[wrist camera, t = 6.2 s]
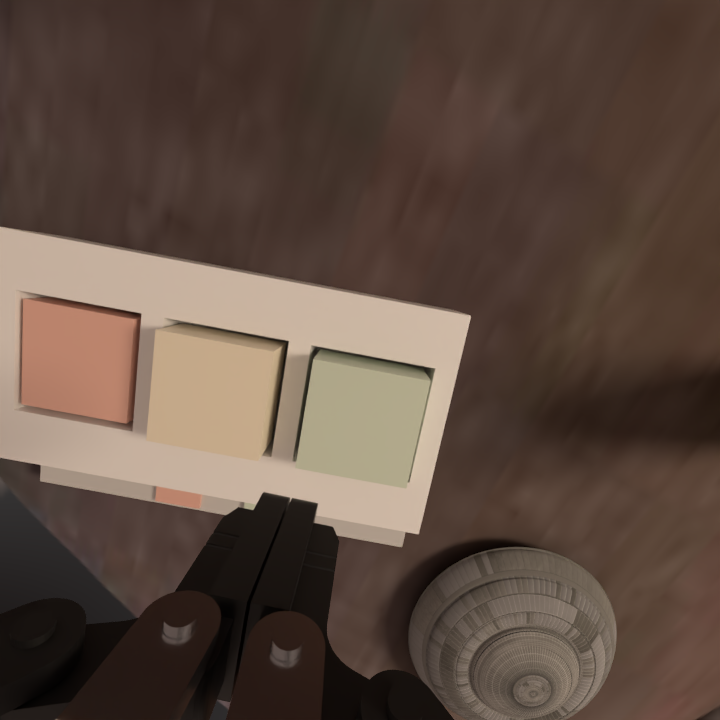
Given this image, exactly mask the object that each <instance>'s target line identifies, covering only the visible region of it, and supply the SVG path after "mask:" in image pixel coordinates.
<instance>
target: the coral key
mask: <svg viewBox="0 0 720 720" xmlns="http://www.w3.org/2000/svg"><path fill="white" fill-rule="evenodd" d="M141 314H142V313H137V312H131V311H126V310H121V309H115V308H110V307H105V306H99V305H94V304H89V303H83V302H78V301H73V300H67V299H62V298H57V297H47V298H26V299H23V341H22V398H21V404H23V405H28V406H34V407H39V408H44V409H50V410H55V411H61V412H66V413H72V414H77V415H82V416H88V417H93V418H99V419H104V420H109V421H115V422H120V423H126V424H127V423H128V422H130V421H132V420H133V419H134V406H135V393H136V380H137V367H138V353H139V340H140V327H141Z"/></svg>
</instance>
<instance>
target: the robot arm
mask: <svg viewBox="0 0 720 720" xmlns="http://www.w3.org/2000/svg"><path fill="white" fill-rule="evenodd" d="M317 507H318V503H315V502H310V501H305V500H300V499H296V498H292V499H291V501H290V497H285V496H281V495H276V494H271V493H266V492H263V493H262V495H261V497H260V499H259V501H258V502H257V504H256V506H255V508H254V510H250V509H245V508H240V507H238V508H236V509H235V510H233V511H232V512H230V513H229V514H227V515H226V516H224V517H223V518H222V520H221V521H220V523H219V524H218V526H217V527H216V529H215V530H214V533H213V534H212V535H211V537H210V538H209V540H208V541H207V543H206V546H204V547H203V549H202V551H201V552H200V554H199V555H198V557H197V558H196V560H195V561H194V563H193V564H192V566H191V567H190V569H189V571H188V572H187V574H186V575H185V577H184V578H183V580H182V581H181V583H180V584H179V586H178V588H177V589H176V591H175V592H173V593H170V594H167V595H165V596H163V597H161V598H159V599H157V600H156V601H154V602H153V603H152V604H151V605H149V606H148V607H147V608H146V609H145V610H144V612H143V613H142V614H141V615H140V617H139V618H136V619H132V620H127V621H121V622H109V623H97V624H86V614H85V611H84V610H83V608H82V607H81V606H80V605H79V604H77V603H76V602H74V601H72V600H68V599H61V598H51V599H43V600H38V601H34V602H31V603H28V604H25V605H22V606H20V607H17V608H15V609H12V610H10V611H7V612H5V613H2V614H0V720H209V719H210V716H211V714H212V711H213V708H214V706H215V703H216V701H217V699H218V700H223V701H228V702H230V701H231V703H230V707H229V710H228V714H227V718H226V720H454V719H453V718H452V716H451V715H450V714H449V713H448V711H447V710H446V709H445V707H444V706H443V705H442V703H441V702H440V701H439V699H438V698H437V697H436V696H435V694H434V693H433V692H432V691H431V689H430V688H429V687H428V686H427V685H426V684H425V683H424V682H423V681H421V680H420V679H418V678H417V677H415V676H414V675H412V674H410V673H407V672H404V671H399V670H386V671H382V672H380V673H378V674H376V675H375V676H373V677H372V678H371V679H370V680H369V679H367V678H366V677H364V676H362V675H360V674H359V673H357V672H355V671H354V670H352V669H350V668H349V667H348V666H346V665H345V664H344V663H343V662H342V661H341V660H340V659H339V658H338V657H337V656H336V654H335V653H334V651H333V650H332V648H331V646H330V643H329V640H328V637H327V621H328V614H329V607H330V600H331V593H332V586H333V580H334V572H335V566H336V558H337V552H338V545H339V540H338V537H337V535H336V532H335V530H334V528H333V527H332V526H327V525H322V524H318V523H314V522H315V517H316V512H317ZM232 695H233V696H232ZM231 698H232V699H231Z"/></svg>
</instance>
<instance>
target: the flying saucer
mask: <svg viewBox="0 0 720 720" xmlns="http://www.w3.org/2000/svg"><path fill="white" fill-rule="evenodd" d="M408 644H409V652H410V656H411V660H412V663H413V665H414V668H415V670H416V672H417V674H418V675H419V677H420V679H421V680H422V681H423V682H424V683H425V684H426V685H427V686H428V687H429V688H430V689H431V691H432V692H433V693H434V694H435V696H436V697H437V698H438V699H439V701H440V702H441V703H443V704H444V705H445V706H446V707H448V708H449V709H450V710H452V711H453V712H455V713H456V714H458V715H459V716H461V717H463V718H465V719H467V720H566V719H568V718H569V717H571V716H573V715H574V714H576V713H577V712H579V711H580V710H581V709H582V708H584V707H585V706H586V705H587V704H588V703H589V702H590V701H591V700H592V699H593V698H594V696H595V695H596V694H597V693H598V691H599V690H600V688H601V687H602V685H603V683H604V681H605V680H606V678H607V676H608V673H609V671H610V668H611V665H612V662H613V658H614V653H615V647H616V621H615V615H614V611H613V608H612V605H611V602H610V600H609V598H608V596H607V594H606V592H605V591H604V589H603V588H602V586H601V585H600V584H599V582H598V581H597V580H596V579H595V578H594V577H593V576H592V575H591V574H590V573H589V572H588V571H586V570H585V569H584V568H583V567H581V566H580V565H578V564H577V563H575V562H573V561H572V560H570V559H568V558H566V557H563V556H561V555H559V554H556V553H553V552H550V551H546V550H542V549H536V548H529V547H505V548H497V549H491V550H487V551H483V552H480V553H477V554H474V555H471V556H469V557H467V558H464V559H462V560H460V561H458V562H457V563H455V564H453V565H452V566H450V567H449V568H447V569H446V570H445V571H443V572H442V573H441V574H440V575H438V576H437V577H436V578H435V579H434V580H433V581H432V582H431V583H430V584H429V586H428V587H427V588H426V589H425V591H424V592H423V593H422V595H421V597H420V598H419V600H418V602H417V604H416V606H415V608H414V610H413V613H412V616H411V620H410V624H409V632H408Z"/></svg>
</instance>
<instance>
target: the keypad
mask: <svg viewBox="0 0 720 720" xmlns="http://www.w3.org/2000/svg"><path fill="white" fill-rule="evenodd" d="M47 297H57V298H62V299H67V300H73V301H78V302H83V303H89V304H94V305H99V306H105V307H110V308H115V309H121V310H126V311H131V312H137V313H142V314H141V327H140V340H139V353H138V367H137V380H136V393H135V406H134V419H133V420H132V421H130V422H128V423H127V424H126V423H120V422H115V421H109V420H104V419H99V418H93V417H88V416H82V415H77V414H72V413H66V412H61V411H55V410H50V409H44V408H39V407H34V406H28V405H23V404H21V398H22V341H23V299H26V298H47ZM470 318H471V316H470V315H467V314H464V313H461V312H458V311H455V310H452V309H447V308H442V307H436V306H431V305H426V304H421V303H415V302H410V301H405V300H399V299H394V298H389V297H384V296H378V295H373V294H368V293H362V292H357V291H352V290H346V289H341V288H336V287H331V286H325V285H320V284H315V283H309V282H304V281H299V280H294V279H288V278H283V277H278V276H272V275H267V274H262V273H256V272H251V271H246V270H241V269H235V268H230V267H225V266H219V265H214V264H209V263H204V262H198V261H193V260H188V259H182V258H177V257H172V256H167V255H161V254H156V253H151V252H145V251H140V250H135V249H129V248H124V247H119V246H114V245H108V244H103V243H98V242H92V241H87V240H82V239H77V238H71V237H66V236H59V235H53V234H46V233H39V232H33V231H26V230H19V229H12V228H6V227H0V458H5V459H11V460H16V461H22V462H27V463H32V464H38V465H41V474H40V481H43V482H48V483H54V484H59V485H65V486H70V487H76V488H81V489H86V490H92V491H97V492H103V493H108V494H114V495H119V496H125V497H130V498H136V499H141V500H147V501H152V502H157V503H163V504H168V505H174V506H179V507H185V508H190V509H196V510H201V511H207V512H212V513H218V514H223V515H227V514H229V513H230V512H232V511H233V510H235V509H236V508H238V507H240V508H245V509H250V510H254V508H255V506H256V504H257V502H258V501H259V499H260V497H261V495H262V493H263V492H266V493H271V494H276V495H281V496H285V497H290V501H291V499H292V498H296V499H300V500H305V501H310V502H315V503H318V507H317V512H316V517H315V522H314V523H318V524H322V525H327V526H332V527H333V528H334V530H335V532H336V535H338V536H343V537H349V538H354V539H360V540H365V541H371V542H376V543H382V544H387V545H392V546H398V547H402V545H403V540H404V536H405V532H409V533H414V534H419V531H420V526H421V522H422V518H423V514H424V510H425V506H426V501H427V497H428V493H429V489H430V485H431V481H432V476H433V472H434V468H435V464H436V460H437V456H438V451H439V447H440V443H441V439H442V435H443V431H444V426H445V422H446V418H447V414H448V410H449V406H450V401H451V397H452V393H453V389H454V385H455V381H456V376H457V372H458V368H459V364H460V360H461V356H462V352H463V347H464V343H465V339H466V335H467V331H468V327H469V322H470ZM183 323H184V324H189V325H194V326H200V327H205V328H210V329H216V330H221V331H226V332H232V333H237V334H242V335H248V336H253V337H258V338H264V339H269V340H274V341H280V342H285V343H286V349H285V356H284V362H283V369H282V376H281V382H280V389H279V396H278V402H277V409H276V416H275V422H274V429H273V436H272V440H271V442H270V443H269V445H268V446H267V448H266V450H265V451H264V453H263V454H262V456H261V457H260V459H259V461H254V460H248V459H243V458H237V457H232V456H226V455H221V454H216V453H210V452H205V451H199V450H194V449H188V448H183V447H178V446H172V445H167V444H161V443H156V442H151V441H146V438H147V426H148V414H149V402H150V390H151V378H152V366H153V354H154V342H155V331H156V329H161V328H165V327H170V326H174V325H179V324H183ZM320 349H322V350H328V351H333V352H338V353H344V354H349V355H354V356H360V357H365V358H370V359H376V360H381V361H386V362H392V363H397V364H402V365H408V366H413V367H418V368H423V369H424V371H425V372H426V374H427V376H428V377H429V379H430V381H431V382H430V387H429V391H428V395H427V400H426V404H425V409H424V413H423V417H422V422H421V426H420V431H419V435H418V439H417V444H416V448H415V453H414V457H413V461H412V466H411V470H410V475H409V479H408V483H407V488H406V489H405V488H400V487H395V486H389V485H384V484H378V483H373V482H367V481H362V480H357V479H351V478H346V477H340V476H335V475H329V474H324V473H319V472H313V471H308V470H302V469H297V468H295V467H296V461H297V454H298V448H299V442H300V436H301V430H302V424H303V418H304V412H305V406H306V400H307V394H308V388H309V382H310V376H311V370H312V364H313V359H314V357H315V356H316V355H317V353H318V352H319V351H320Z"/></svg>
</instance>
